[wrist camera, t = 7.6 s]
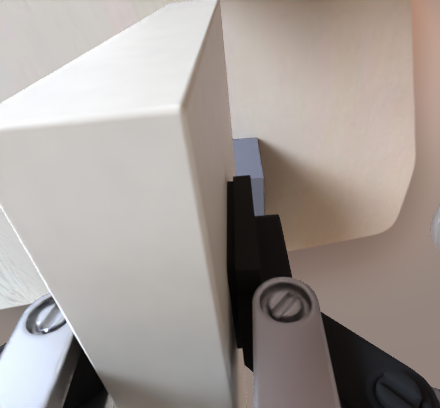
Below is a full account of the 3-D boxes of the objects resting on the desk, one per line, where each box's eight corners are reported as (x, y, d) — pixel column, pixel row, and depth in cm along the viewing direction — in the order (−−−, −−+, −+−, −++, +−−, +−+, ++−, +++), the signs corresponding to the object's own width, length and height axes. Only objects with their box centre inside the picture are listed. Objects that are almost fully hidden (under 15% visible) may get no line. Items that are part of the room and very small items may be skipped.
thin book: (219, -3, 16) (186, 104, 3) (237, 196, 22) (250, 493, 9) (168, 3, 16) (-51, 129, 3) (200, 199, 22) (165, 494, 10)
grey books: (257, 137, 38) (264, 177, 31) (259, 215, 45) (265, 264, 37) (144, 145, 39) (125, 186, 32) (162, 221, 45) (149, 269, 38)
